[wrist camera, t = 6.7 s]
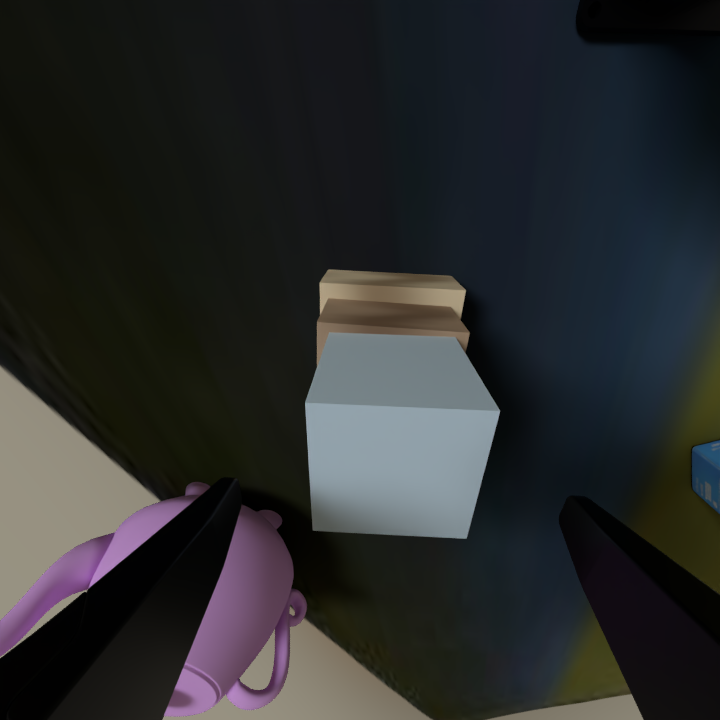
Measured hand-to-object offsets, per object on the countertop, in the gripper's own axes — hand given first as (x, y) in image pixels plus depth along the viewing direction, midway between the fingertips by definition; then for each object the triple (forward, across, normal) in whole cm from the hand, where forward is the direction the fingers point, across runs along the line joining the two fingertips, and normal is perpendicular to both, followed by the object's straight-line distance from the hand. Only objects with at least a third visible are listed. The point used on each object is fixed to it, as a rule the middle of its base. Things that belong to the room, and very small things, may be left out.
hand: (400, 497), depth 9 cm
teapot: (+13, +14, +19) cm, 27 cm away
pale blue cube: (+6, 0, 0) cm, 6 cm away
